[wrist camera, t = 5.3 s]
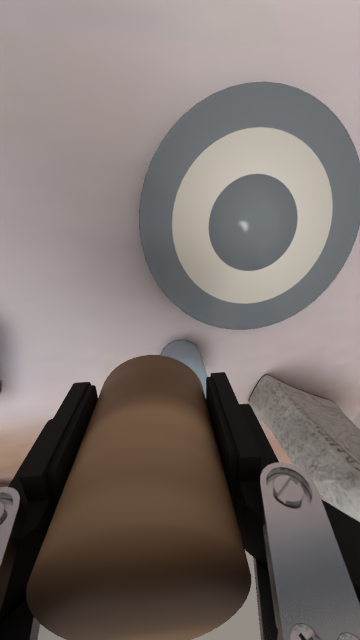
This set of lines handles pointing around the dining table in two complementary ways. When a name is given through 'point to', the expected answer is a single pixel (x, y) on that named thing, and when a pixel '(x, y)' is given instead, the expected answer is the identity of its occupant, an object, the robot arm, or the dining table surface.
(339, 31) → the dining table surface
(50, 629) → the brown rounded cylinder
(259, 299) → the plate
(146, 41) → the dining table surface
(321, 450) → the decorative stone
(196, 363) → the smooth blue-gray rounded cylinder
